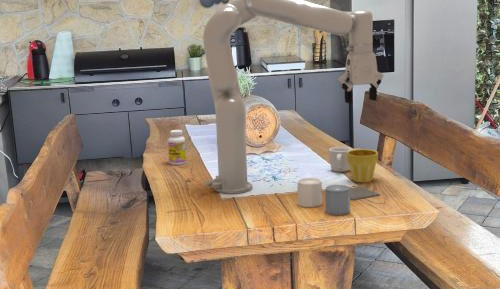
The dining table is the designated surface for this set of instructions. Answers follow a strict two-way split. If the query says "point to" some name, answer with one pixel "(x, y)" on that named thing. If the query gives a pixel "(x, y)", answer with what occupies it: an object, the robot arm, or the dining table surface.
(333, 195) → the beaker
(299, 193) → the beaker
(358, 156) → the plant pot
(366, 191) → the coaster
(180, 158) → the supplement bottle
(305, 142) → the dining table surface
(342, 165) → the cup
